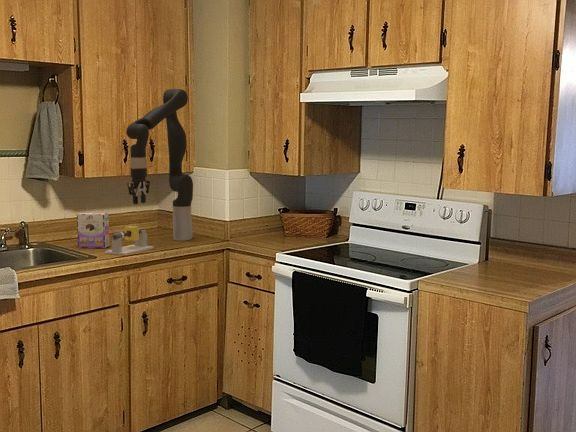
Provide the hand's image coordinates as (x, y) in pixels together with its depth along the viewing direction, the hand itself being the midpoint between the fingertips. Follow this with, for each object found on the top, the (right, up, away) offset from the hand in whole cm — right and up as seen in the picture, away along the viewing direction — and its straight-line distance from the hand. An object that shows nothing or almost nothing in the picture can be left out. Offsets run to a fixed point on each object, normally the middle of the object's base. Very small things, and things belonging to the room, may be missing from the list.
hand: (139, 203), depth 324 cm
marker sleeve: (-3, -17, -3) cm, 17 cm away
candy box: (-23, -21, +5) cm, 31 cm away
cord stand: (-3, -22, -4) cm, 23 cm away
